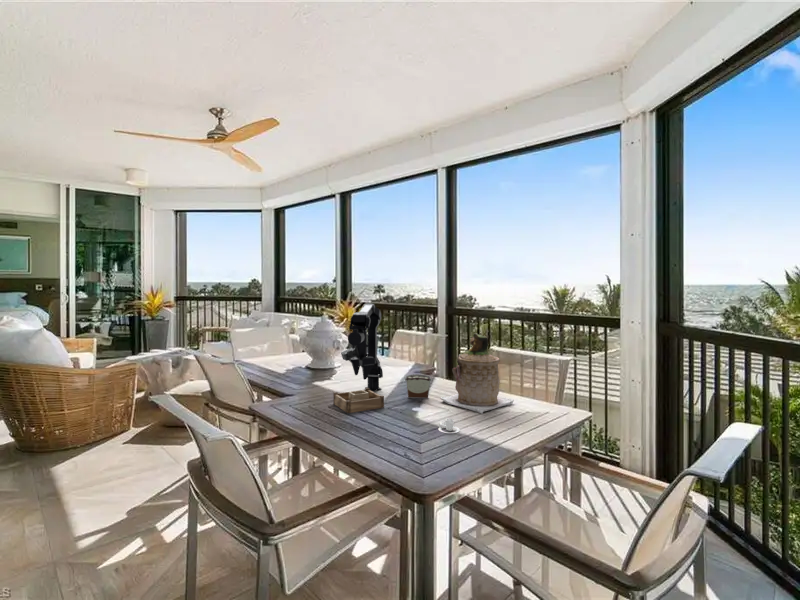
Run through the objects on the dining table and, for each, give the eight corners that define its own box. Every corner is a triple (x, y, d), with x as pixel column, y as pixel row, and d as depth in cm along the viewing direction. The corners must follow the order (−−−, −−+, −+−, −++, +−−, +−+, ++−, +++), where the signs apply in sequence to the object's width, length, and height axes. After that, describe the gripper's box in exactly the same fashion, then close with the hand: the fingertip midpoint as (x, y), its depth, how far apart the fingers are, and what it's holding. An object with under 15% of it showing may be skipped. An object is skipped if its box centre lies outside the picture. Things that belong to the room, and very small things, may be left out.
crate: (333, 403, 197) (333, 392, 197) (368, 398, 206) (368, 387, 206) (347, 413, 184) (347, 401, 183) (384, 407, 192) (384, 396, 192)
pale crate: (348, 403, 196) (348, 391, 195) (362, 400, 199) (362, 389, 199) (353, 406, 190) (353, 395, 190) (368, 404, 194) (368, 392, 194)
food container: (431, 395, 212) (431, 374, 212) (431, 398, 206) (431, 377, 206) (406, 394, 214) (406, 373, 213) (404, 397, 208) (404, 376, 207)
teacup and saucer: (437, 426, 170) (437, 415, 169) (458, 426, 169) (458, 416, 169) (439, 434, 161) (439, 423, 161) (461, 434, 161) (461, 423, 160)
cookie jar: (516, 403, 199) (517, 332, 197) (481, 415, 182) (482, 337, 181) (472, 392, 217) (473, 327, 215) (437, 402, 201) (438, 331, 199)
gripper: (335, 340, 198) (335, 374, 199) (351, 346, 182) (351, 384, 183) (358, 338, 204) (358, 372, 205) (376, 344, 187) (376, 381, 188)
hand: (360, 377), depth 195 cm, fingers open, 9 cm apart
